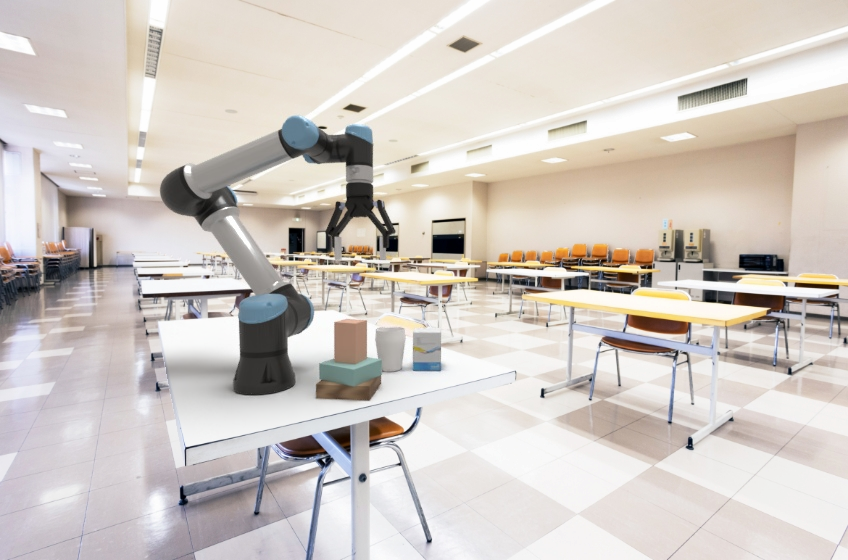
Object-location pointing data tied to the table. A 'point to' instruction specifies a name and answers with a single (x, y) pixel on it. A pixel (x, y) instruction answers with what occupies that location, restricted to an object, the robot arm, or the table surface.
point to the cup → (390, 347)
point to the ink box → (427, 349)
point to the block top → (350, 371)
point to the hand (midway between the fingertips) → (360, 260)
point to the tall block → (350, 341)
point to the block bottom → (347, 390)
